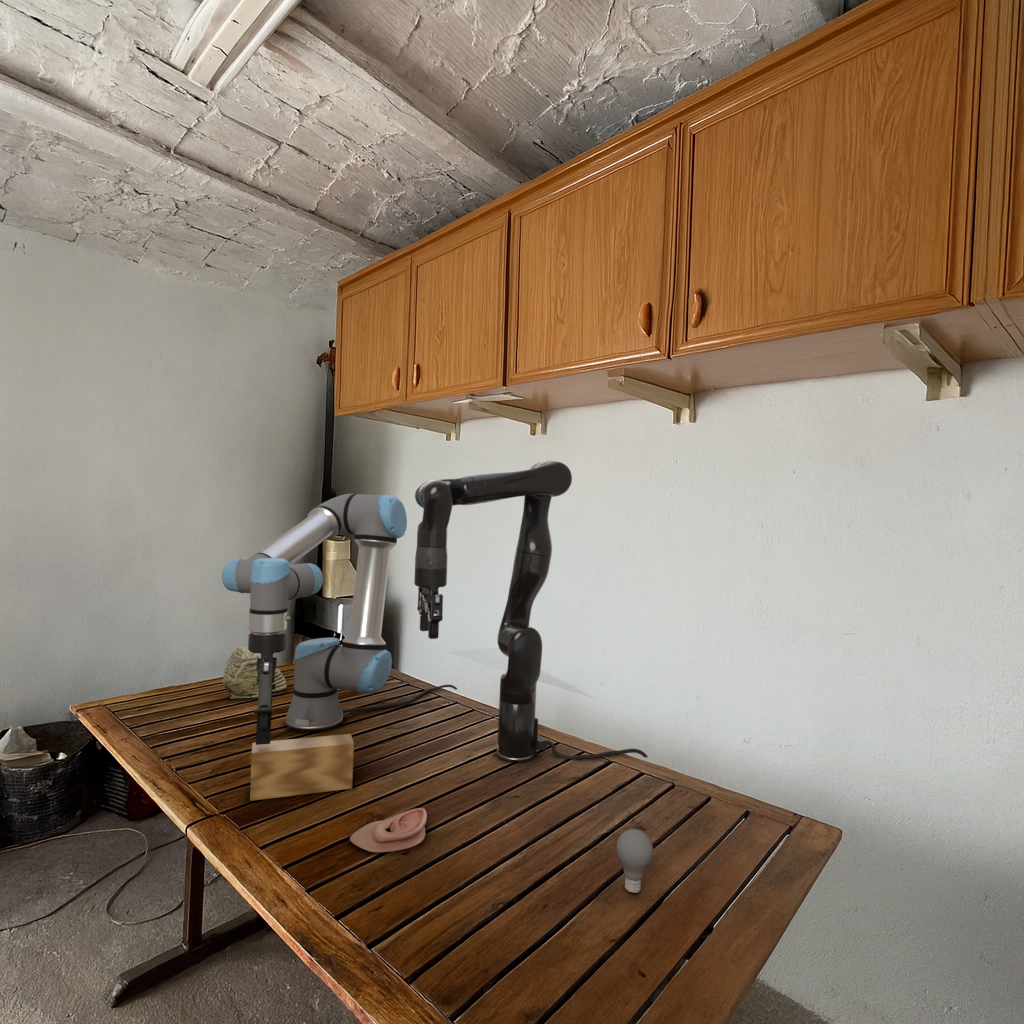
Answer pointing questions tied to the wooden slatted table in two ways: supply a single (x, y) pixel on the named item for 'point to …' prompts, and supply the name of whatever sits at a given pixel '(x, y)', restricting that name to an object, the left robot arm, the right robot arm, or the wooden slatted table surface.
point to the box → (301, 766)
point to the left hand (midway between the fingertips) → (264, 731)
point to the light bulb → (634, 857)
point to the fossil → (247, 675)
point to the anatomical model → (392, 832)
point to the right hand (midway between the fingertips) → (428, 634)
